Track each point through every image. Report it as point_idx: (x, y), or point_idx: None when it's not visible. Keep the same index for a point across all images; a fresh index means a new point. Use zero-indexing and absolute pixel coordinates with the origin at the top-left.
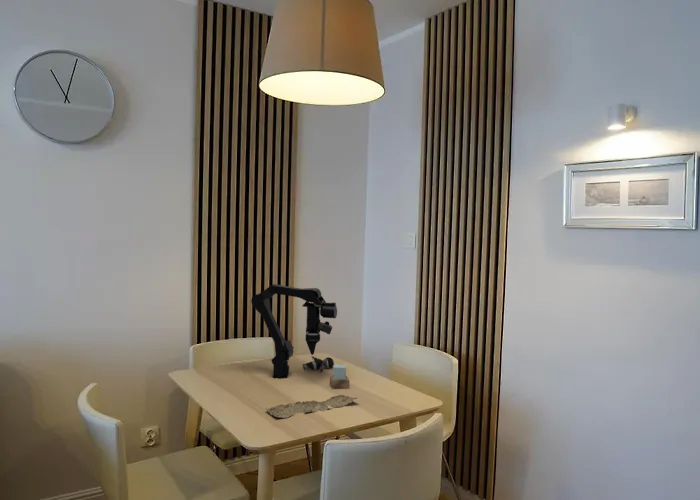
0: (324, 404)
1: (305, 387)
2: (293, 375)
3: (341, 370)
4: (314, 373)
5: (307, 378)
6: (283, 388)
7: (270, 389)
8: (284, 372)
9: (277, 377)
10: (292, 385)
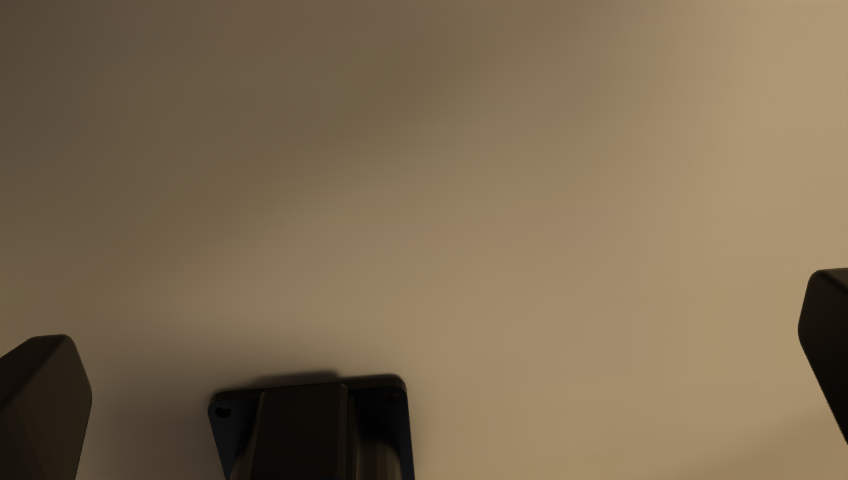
0: None
1: (845, 107)
2: (256, 321)
3: None
4: (55, 25)
5: (384, 119)
6: None
7: (832, 461)
8: (376, 456)
9: (413, 472)
10: (722, 279)
